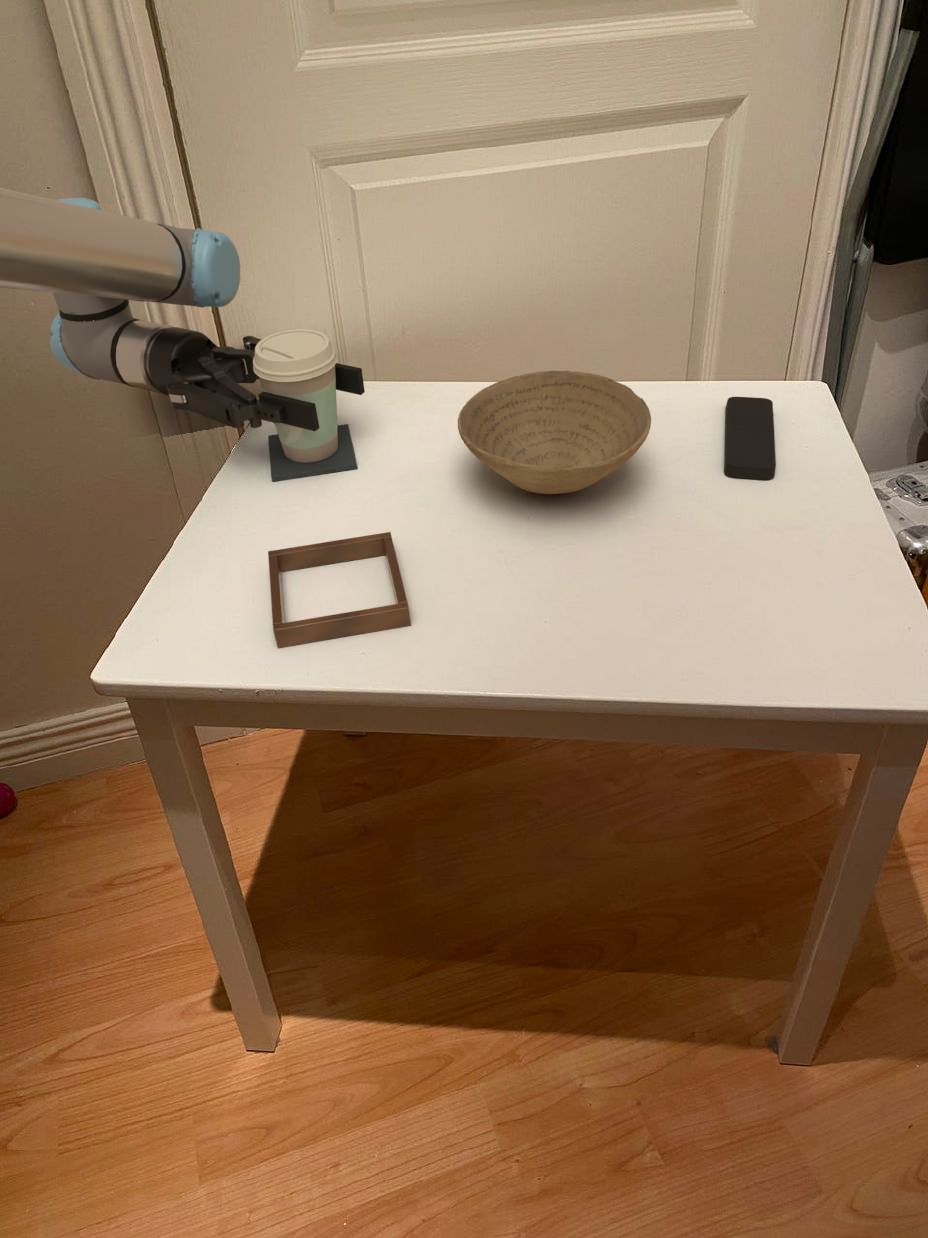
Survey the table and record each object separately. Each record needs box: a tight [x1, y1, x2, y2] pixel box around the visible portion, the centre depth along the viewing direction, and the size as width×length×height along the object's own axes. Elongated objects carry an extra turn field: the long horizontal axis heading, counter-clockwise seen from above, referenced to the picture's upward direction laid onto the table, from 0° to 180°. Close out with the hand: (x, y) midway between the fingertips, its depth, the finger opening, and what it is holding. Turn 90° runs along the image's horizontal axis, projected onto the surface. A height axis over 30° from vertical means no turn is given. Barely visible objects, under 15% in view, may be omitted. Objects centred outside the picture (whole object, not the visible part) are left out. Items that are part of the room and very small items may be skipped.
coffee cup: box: [253, 328, 338, 463], centre depth 98 cm, size 8×9×12 cm
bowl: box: [457, 370, 652, 495], centre depth 92 cm, size 18×18×8 cm
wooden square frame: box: [267, 531, 412, 649], centre depth 82 cm, size 11×11×2 cm
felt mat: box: [267, 423, 358, 482], centre depth 102 cm, size 9×9×1 cm
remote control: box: [723, 396, 777, 481], centre depth 98 cm, size 5×2×15 cm
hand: (338, 398), depth 95 cm, fingers closed on coffee cup, 7 cm apart
